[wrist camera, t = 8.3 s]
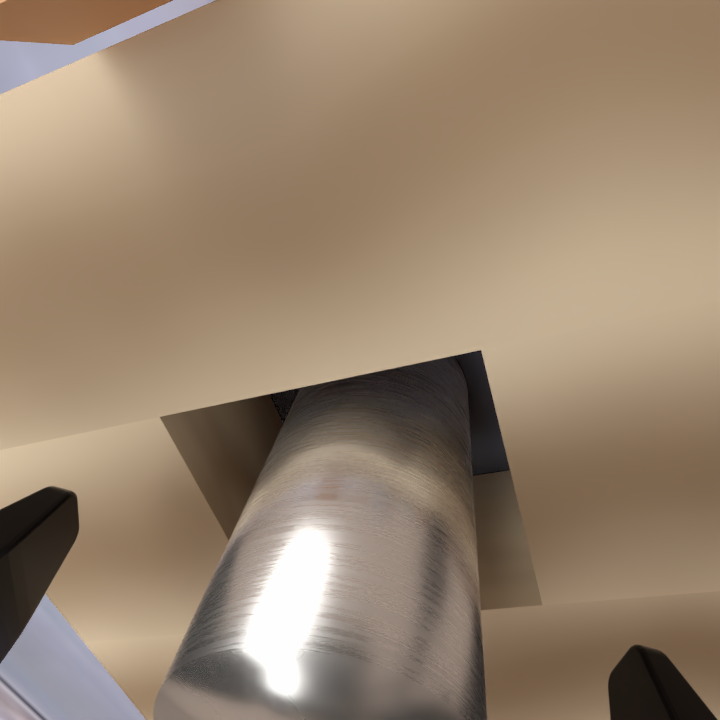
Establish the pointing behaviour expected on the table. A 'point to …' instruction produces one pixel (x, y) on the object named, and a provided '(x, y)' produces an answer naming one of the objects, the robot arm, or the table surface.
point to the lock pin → (66, 18)
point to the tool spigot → (348, 566)
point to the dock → (380, 304)
